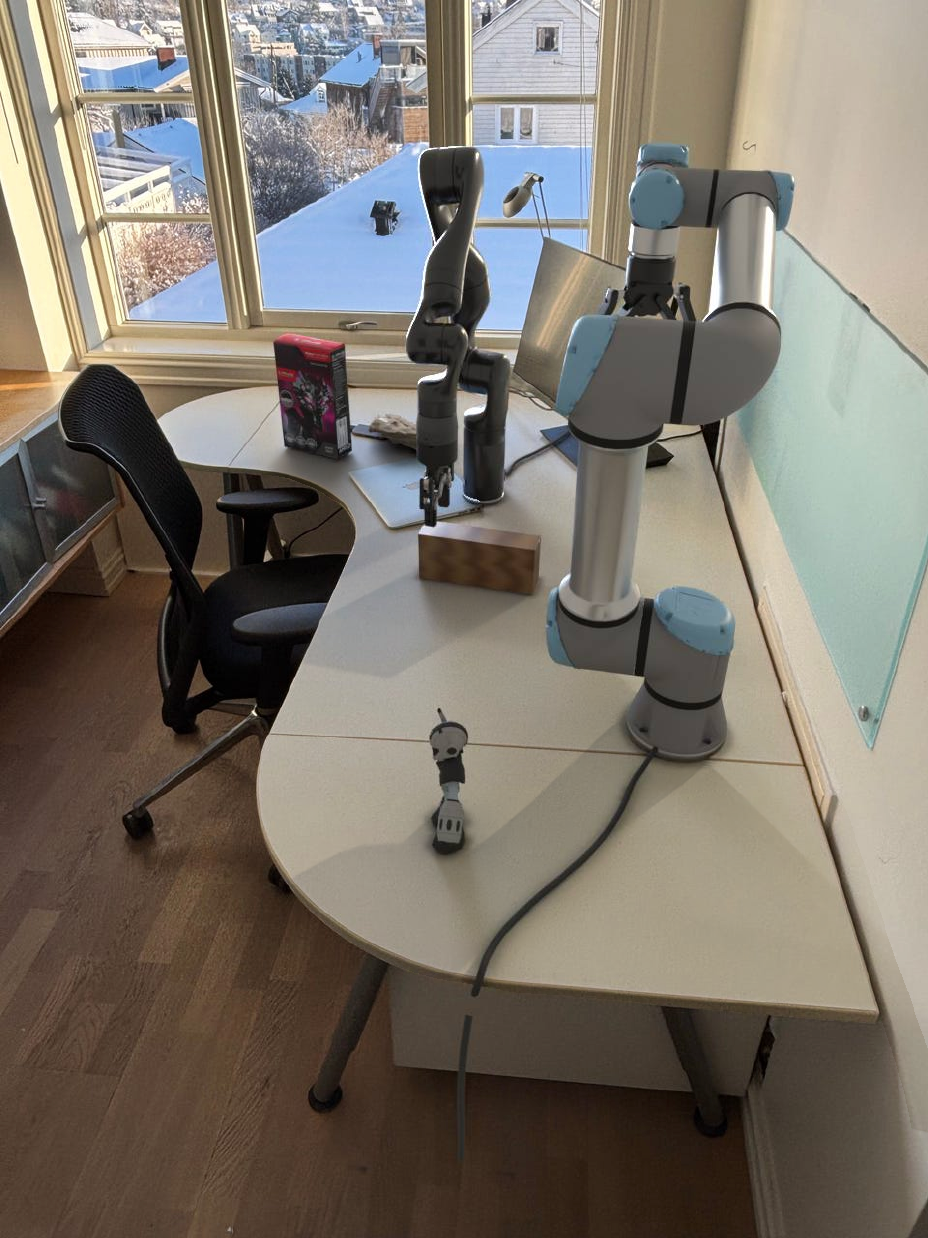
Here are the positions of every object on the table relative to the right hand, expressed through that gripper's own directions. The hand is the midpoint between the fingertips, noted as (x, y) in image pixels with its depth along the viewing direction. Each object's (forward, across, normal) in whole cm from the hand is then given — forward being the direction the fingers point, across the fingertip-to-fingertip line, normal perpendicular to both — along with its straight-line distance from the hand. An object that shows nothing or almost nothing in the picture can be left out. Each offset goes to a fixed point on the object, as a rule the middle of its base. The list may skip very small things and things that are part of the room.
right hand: (636, 386), depth 155 cm
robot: (+41, +46, +52) cm, 81 cm away
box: (+40, +24, -11) cm, 48 cm away
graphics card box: (+39, +46, -80) cm, 100 cm away
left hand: (+27, +31, -15) cm, 44 cm away
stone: (+39, +23, -79) cm, 91 cm away
